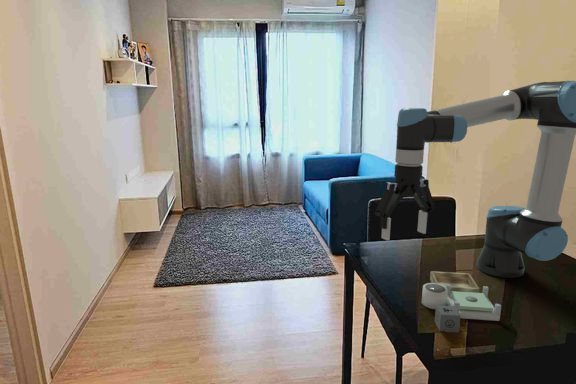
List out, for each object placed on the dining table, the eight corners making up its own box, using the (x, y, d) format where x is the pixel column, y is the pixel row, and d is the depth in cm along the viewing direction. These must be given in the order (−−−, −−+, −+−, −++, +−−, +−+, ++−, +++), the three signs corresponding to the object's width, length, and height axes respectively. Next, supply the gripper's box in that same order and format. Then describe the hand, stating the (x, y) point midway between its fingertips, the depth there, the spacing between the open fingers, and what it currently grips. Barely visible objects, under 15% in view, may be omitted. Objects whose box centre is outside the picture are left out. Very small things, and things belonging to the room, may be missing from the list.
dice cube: (434, 321, 113) (436, 305, 112) (453, 322, 113) (455, 306, 111) (439, 331, 108) (440, 314, 107) (458, 332, 108) (460, 315, 107)
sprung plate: (482, 296, 123) (483, 292, 123) (492, 311, 114) (493, 307, 114) (451, 294, 124) (451, 290, 124) (458, 309, 116) (459, 305, 115)
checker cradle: (485, 300, 125) (487, 286, 124) (499, 320, 113) (501, 306, 112) (444, 297, 126) (445, 283, 125) (453, 317, 115) (455, 303, 114)
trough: (468, 282, 137) (469, 273, 136) (478, 298, 126) (479, 289, 125) (429, 279, 138) (430, 271, 138) (436, 295, 128) (437, 286, 127)
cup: (443, 298, 126) (444, 283, 124) (448, 310, 119) (450, 294, 118) (419, 297, 127) (421, 282, 125) (423, 308, 120) (425, 292, 119)
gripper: (432, 159, 124) (426, 226, 129) (364, 165, 113) (361, 238, 118) (451, 162, 117) (445, 233, 122) (381, 169, 107) (377, 246, 111)
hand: (403, 235), depth 120 cm, fingers open, 13 cm apart
